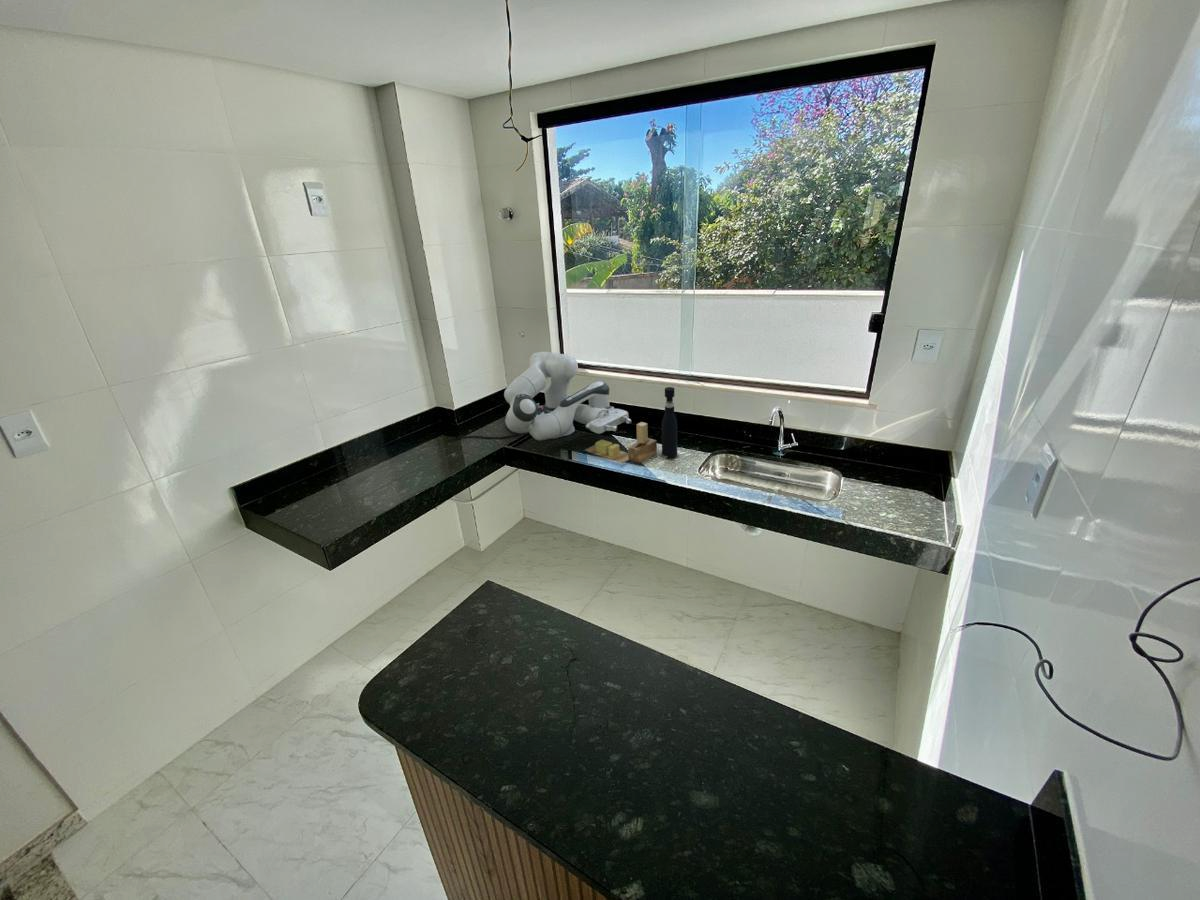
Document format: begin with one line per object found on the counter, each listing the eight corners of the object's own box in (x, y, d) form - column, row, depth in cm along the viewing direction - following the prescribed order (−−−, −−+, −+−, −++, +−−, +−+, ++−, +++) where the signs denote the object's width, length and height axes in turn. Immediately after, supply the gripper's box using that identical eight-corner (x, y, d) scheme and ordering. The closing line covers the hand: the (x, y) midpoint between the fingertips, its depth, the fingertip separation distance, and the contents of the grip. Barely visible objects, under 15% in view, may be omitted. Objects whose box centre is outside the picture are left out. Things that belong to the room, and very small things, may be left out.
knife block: (628, 461, 204) (627, 446, 201) (645, 451, 212) (645, 437, 209) (639, 465, 201) (639, 450, 197) (656, 455, 208) (656, 440, 205)
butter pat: (608, 455, 208) (608, 447, 206) (615, 451, 211) (615, 443, 209) (613, 457, 207) (612, 448, 205) (619, 453, 209) (619, 444, 208)
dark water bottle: (659, 454, 208) (658, 388, 195) (671, 450, 211) (671, 384, 198) (667, 460, 203) (667, 392, 190) (680, 456, 206) (680, 389, 192)
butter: (595, 451, 213) (595, 442, 211) (602, 447, 216) (602, 439, 214) (605, 454, 209) (605, 446, 207) (612, 450, 212) (612, 442, 210)
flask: (549, 421, 251) (546, 401, 246) (548, 423, 248) (546, 403, 243) (531, 422, 251) (528, 402, 247) (530, 424, 249) (527, 404, 244)
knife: (634, 461, 205) (632, 426, 198) (645, 454, 210) (644, 420, 203) (640, 463, 203) (639, 428, 196) (651, 456, 208) (650, 421, 201)
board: (584, 452, 215) (584, 450, 215) (597, 445, 221) (597, 442, 220) (622, 465, 201) (622, 463, 201) (635, 457, 207) (635, 455, 207)
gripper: (582, 419, 207) (606, 426, 199) (613, 405, 221) (637, 411, 212) (583, 432, 210) (607, 440, 201) (614, 417, 223) (638, 424, 215)
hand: (623, 425), depth 207 cm, fingers open, 8 cm apart
